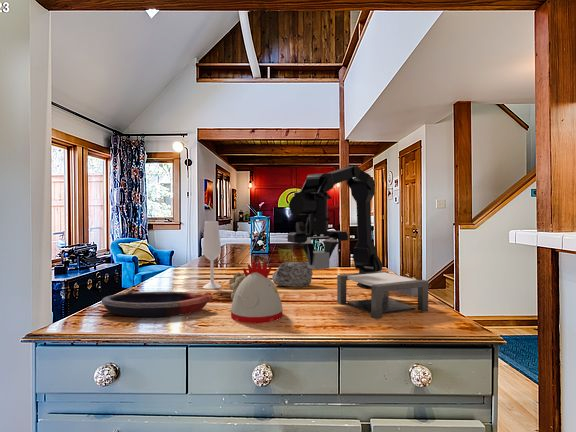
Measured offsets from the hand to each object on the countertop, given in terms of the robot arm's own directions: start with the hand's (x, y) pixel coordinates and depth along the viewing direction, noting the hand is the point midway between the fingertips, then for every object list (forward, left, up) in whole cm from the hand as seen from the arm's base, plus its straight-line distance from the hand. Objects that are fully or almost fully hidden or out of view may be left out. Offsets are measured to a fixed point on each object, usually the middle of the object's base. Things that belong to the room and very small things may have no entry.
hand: (318, 264), depth 122 cm
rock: (-3, -25, -12) cm, 28 cm away
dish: (+47, -9, -12) cm, 49 cm away
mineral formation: (+18, -15, -12) cm, 26 cm away
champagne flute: (+25, -35, -12) cm, 44 cm away
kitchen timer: (+23, +7, -12) cm, 27 cm away
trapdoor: (-15, +14, -8) cm, 22 cm away
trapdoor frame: (-13, +14, -11) cm, 22 cm away
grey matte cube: (0, 0, -1) cm, 1 cm away
